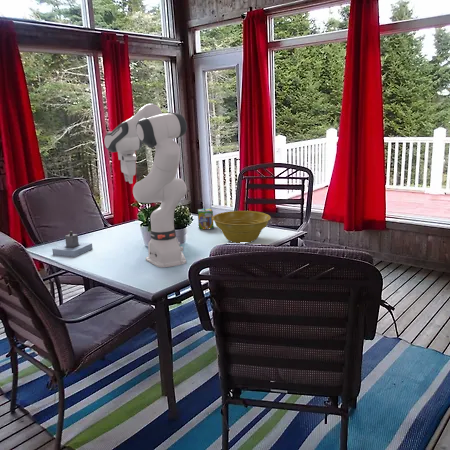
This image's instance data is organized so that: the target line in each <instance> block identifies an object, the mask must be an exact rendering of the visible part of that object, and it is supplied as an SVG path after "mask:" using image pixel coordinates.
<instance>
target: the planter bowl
mask: <svg viewBox="0 0 450 450" xmlns="http://www.w3.org/2000/svg"><path fill="white" fill-rule="evenodd" d="M212 219H213V222H214V223H215V225H216V227H217V228H218V229H219V230H220V231H221V232H222V234H223V235H224V237H225V239H226V240H227V241H229V242H230V241H232V242H231V243H233V242H236V243H235V244H241V243H240V242H250V243H252V242H251V241H253V242H254V241H255V240H257V239H258V237H259V236H260V234H261V233H262V230H263V229H265V228H267V225H268V223H269V221H271V219H272V216H271V215H269V214H267V213H264V212H260V211H252V210H232V211H224V212H220V213H218V214H215V215H214V214H213V217H212Z"/></svg>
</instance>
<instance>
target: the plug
mask: <svg viewBox="0 0 450 450" xmlns="http://www.w3.org/2000/svg"><path fill="white" fill-rule="evenodd" d="M68 233H69V234H67V235H65V236H64V239H65V244H66V248H75V247H78V246H79V242H80V241H79V236H78V233H74V232H73V230H70V231H69V232H68Z"/></svg>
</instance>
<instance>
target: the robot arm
mask: <svg viewBox="0 0 450 450" xmlns="http://www.w3.org/2000/svg"><path fill="white" fill-rule="evenodd" d="M187 130H188V123H187V121H186V118H185V117H184V116H183V115H182V114H180V113H177V112H172V111H168V112H167V113H163V111H162V109H161V108H160V107H159V105H156V104H155V103H147V104H144V105H143V106H142V107H141V108H139V110H137V112H136V113H135V114H134V115H132V116H131V117H130V118H127V119H126V120H124V121H123V122H121V123H119V124H118V125H117V126H116V127H115V128H114V129H113V130H112V131H108V132H107V133H106V134H105V135H104V147H105V149H107V151H108V152H110V153H117V157H118V161H120V171H121V173H123V177H124V181H125V182H128V183H129V184H130V185H131V184H134V181H133V179H134V176H136V174H137V169H136V168H137V163H136V161H137V156H136V151H139V150H140V149H141V148H142V147H143V144H144V145H146V146H147V147H148V148H150V149H154V148H155V151H154V152H155V153H154V158H153V162H152V166H151V170H150V171H149V172H148V174H147V175H145V177H144V178H142V179H141V180H139V181H137V182H135V184H134V185H133V187H132V194H133V197H134V200H136V201H137V202H138V203H142V204H143V203H144V204H152V203H160V205H159V206H158V208H156V209H154V210H153V211H152V212H151V214H150V238H151V239H150V240H149V241H148V243H147V246H148V247H147V248H148V251H147V252H148V253H147V254H148V256H146V257H145V261H147V262H148V263H150V264H152V265H154V266H156V267H157V268H171V267H177V266H182V265H185V264H187V259H186V257H185V254H184V253H183V251H184V246H181V242H179V240H178V237H177V234H176V232H177V231H176V228H175V210H176V208H177V206H178V204H179V203H180V201H182V199H184V197H185V196H186V194H187V190H188V189H187V188H188V186H187V185H186V182H185V181H184V180H183V178H179V177H177V172H178V169H179V165H180V162H181V161H180V160H181V148H180V146H179V145H180V144H179V143H178V142H176V141H175V140H174V139H178V138H181V137H183V136H185V134H186V133H187Z"/></svg>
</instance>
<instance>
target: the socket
mask: <svg viewBox="0 0 450 450" xmlns="http://www.w3.org/2000/svg"><path fill="white" fill-rule="evenodd" d="M78 242H79V246H78V247H75V248H66V243H64V244H60V245H58V246H56V247H53V248H52V255H56V256H63V257H64V256H65V257H73V258H74V257H75V258H76V257H78V256H80V255H82V254H84V253H87V252H88V251H90V250H93V249H94V248H93V243H91V242H83V241H82V242H80V241H78Z"/></svg>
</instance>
